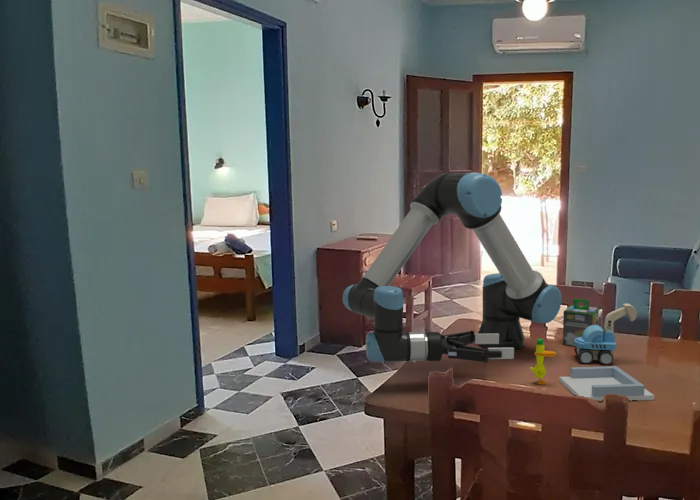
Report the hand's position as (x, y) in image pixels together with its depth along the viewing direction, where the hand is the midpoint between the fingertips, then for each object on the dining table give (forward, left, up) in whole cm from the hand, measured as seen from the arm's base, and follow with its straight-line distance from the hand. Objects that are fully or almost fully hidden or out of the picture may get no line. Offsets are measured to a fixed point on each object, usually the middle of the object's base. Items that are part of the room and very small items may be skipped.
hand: (505, 345), depth 165 cm
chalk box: (+8, +49, -11) cm, 51 cm away
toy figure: (+8, +6, -11) cm, 15 cm away
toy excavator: (+18, +34, -11) cm, 40 cm away
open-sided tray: (+23, +9, -11) cm, 27 cm away
